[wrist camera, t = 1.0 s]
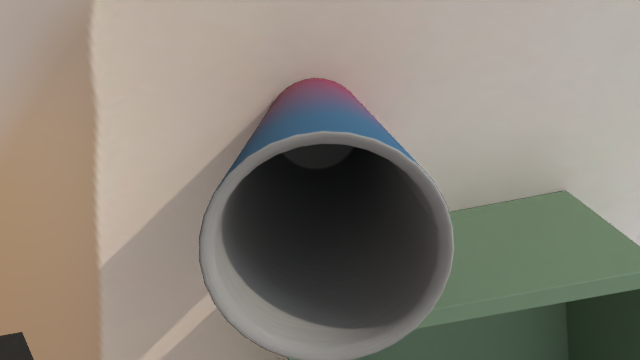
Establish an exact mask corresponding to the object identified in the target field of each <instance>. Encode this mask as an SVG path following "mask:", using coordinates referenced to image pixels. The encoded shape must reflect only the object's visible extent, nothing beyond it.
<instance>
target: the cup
mask: <svg viewBox="0 0 640 360" xmlns="http://www.w3.org/2000/svg"><path fill="white" fill-rule="evenodd" d="M453 254H454V237H453V225H452V222H451V218H450V215H449V211H448V208H447V205H446V202H445V201H444V199H443V197H442V195H441V193H440V191H439V190H438V188H437V186H436V184H435V183H434V181H433V180H432V179H431V178H430V177H429V176H428V175H427V173H426V172H425V171H424V170H423V169H422V168H421V167H420V165H419V164H418V163H417V162H416V161H415V160H414V159H413V158H412V157H411V156H410V155H409V154H408V153H407V152H406V151H405V150H404V148H403V147H402V146H401V145H400V144H399V143H398V142H397V141H396V140H395V139H394V138H393V137H392V136H391V135H390V134H389V133H388V132H387V131H386V129H385V128H384V127H383V126H382V125H381V124H380V123H379V122H378V121H377V120H376V119H375V118H374V117H373V116H372V115H371V114H370V113H369V111H368V110H367V109H366V108H365V107H364V106H363V105H362V104H361V103H360V102H359V101H358V100H357V99H356V98H355V97H354V96H353V95H352V94H351V92H350V91H348V90H347V89H346V88H344V87H343V86H342V85H340V84H338V83H336V82H334V81H330V80H326V79H318V78H313V79H306V80H302V81H299V82H297V83H294V84H293V85H291V86H289V87H288V88H286V89H285V90H284V91H283V92H282V93H281V94H280V95H279V96H278V98H277V99H276V100H275V102H274V103H273V105H272V106H271V108H270V109H269V111H268V112H267V114H266V115H265V117H264V118H263V120H262V121H261V123H260V124H259V126H258V127H257V129H256V130H255V132H254V133H253V135H252V136H251V138H250V139H249V141H248V142H247V144H246V146H245V147H244V149H243V150H242V152H241V153H240V155H239V156H238V158H237V159H236V161H235V162H234V164H233V165H232V167H231V168H230V170H229V171H228V173H227V174H226V176H225V177H224V179H223V180H222V182H221V183H220V185H219V186H218V188H217V189H216V191H215V192H214V194H213V196H212V198H211V200H210V203H209V205H208V207H207V209H206V212H205V214H204V217H203V222H202V227H201V232H200V236H199V262H200V266H201V270H202V274H203V278H204V283H205V285H206V287H207V289H208V291H209V293H210V296H211V298H212V300H213V302H214V304H215V305H216V307H217V308H218V309H219V311H220V312H221V313H222V315H223V316H224V317H225V319H226V320H227V321H228V322H229V323H230V324H231V325H232V326H233V327H234V328H235V329H236V330H238V331H239V332H240V333H241V334H242V335H243V336H244V337H246V338H247V339H249V340H251V341H252V342H254V343H256V344H257V345H259V346H261V347H262V348H264V349H266V350H269V351H271V352H274V353H276V354H279V355H282V356H284V357H288V358H293V359H298V360H353V359H357V358H360V357H364V356H367V355H370V354H373V353H376V352H379V351H381V350H383V349H385V348H387V347H389V346H390V345H392V344H394V343H396V342H398V341H399V340H401V339H402V338H403V337H405V336H406V335H407V334H409V333H410V332H411V331H413V330H414V329H415V328H416V327H417V326H418V325H419V324H420V323H421V322H422V321H423V320H424V319H425V318H426V317H427V316H428V314H429V313H430V312H431V311H432V309H433V308H434V306H435V305H436V303H437V301H438V300H439V298H440V296H441V295H442V293H443V291H444V289H445V286H446V283H447V280H448V278H449V275H450V272H451V268H452V261H453Z"/></svg>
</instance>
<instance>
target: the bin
mask: <svg viewBox="0 0 640 360" xmlns="http://www.w3.org/2000/svg"><path fill="white" fill-rule="evenodd" d="M449 215H450V218H451V222H452V225H453V237H454V254H453V261H452V268H451V272H450V275H449V278H448V280H447V283H446V286H445V289H444V291H443V293H442V295H441V296H440V298H439V300H438V301H437V303H436V305H435V306H434V308H433V309H432V311H431V312H430V313H429V314H428V316H427V317H426V318H425V319H424V320H423V321H422V322H421V323H420V324H419V325H418V326H417V327H416V328H415V329H414V330H413V331H411V332H410V333H409V334H407V335H406V336H405V337H403V338H402V339H401V340H399V341H398V342H396V343H394V344H392V345H390V346H389V347H387V348H385V349H383V350H381V351H379V352H376V353H373V354H370V355H367V356H364V357H360V358H357V359H353V360H640V246H639V245H637V244H636V243H635V242H633V241H632V240H631V239H629V238H628V237H627V236H625V235H624V234H623V233H622V232H620V231H619V230H618V229H616V228H615V227H614V226H612V225H611V224H610V223H608V222H607V221H606V220H604V219H603V218H602V217H600V216H599V215H598V214H596V213H595V212H594V211H593V210H591V209H590V208H589V207H587V206H586V205H585V204H583V203H582V202H581V201H579V200H578V199H577V198H575V197H574V196H573V195H571V194H570V193H569V192H567V191H560V192H555V193H550V194H544V195H539V196H534V197H528V198H523V199H518V200H512V201H507V202H502V203H496V204H491V205H486V206H480V207H475V208H469V209H464V210H459V211H453V212H449ZM287 358H288V357H287ZM288 360H298V359H293V358H288Z"/></svg>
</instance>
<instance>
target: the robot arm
mask: <svg viewBox="0 0 640 360" xmlns="http://www.w3.org/2000/svg"><path fill="white" fill-rule="evenodd" d="M0 360H34V359H33V357H32V355H31V352H30V350H29V348H28V345H27V343H26V341H25V338H24V336H23V333H22V332H19V333H14V334H8V335H3V336H0Z"/></svg>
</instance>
